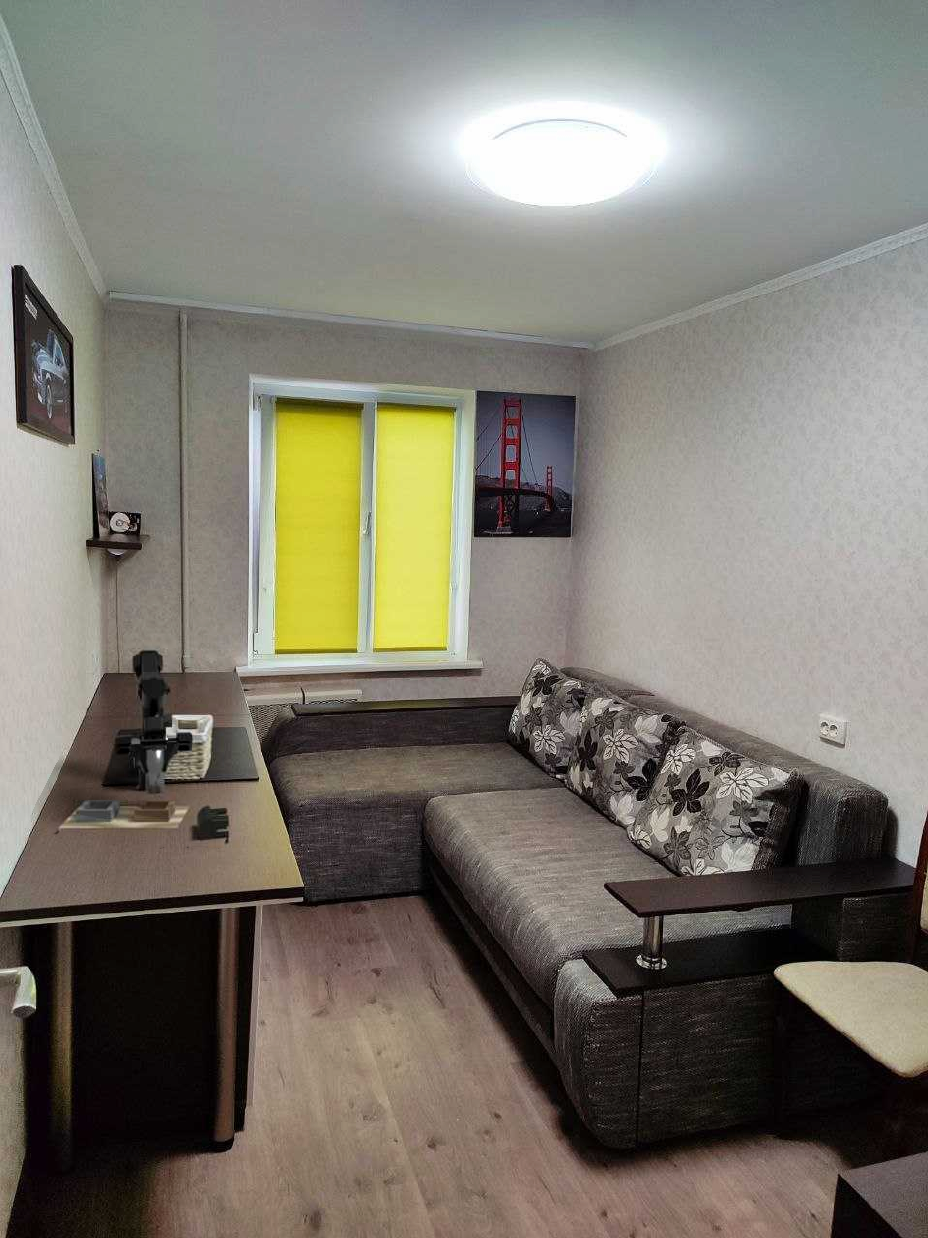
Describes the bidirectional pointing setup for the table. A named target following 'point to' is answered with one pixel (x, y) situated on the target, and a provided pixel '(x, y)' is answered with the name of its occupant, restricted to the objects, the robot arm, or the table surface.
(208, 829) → the end cap
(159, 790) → the grey long rounded piece
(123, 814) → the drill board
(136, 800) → the table surface
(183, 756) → the storage basket
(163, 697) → the robot arm
